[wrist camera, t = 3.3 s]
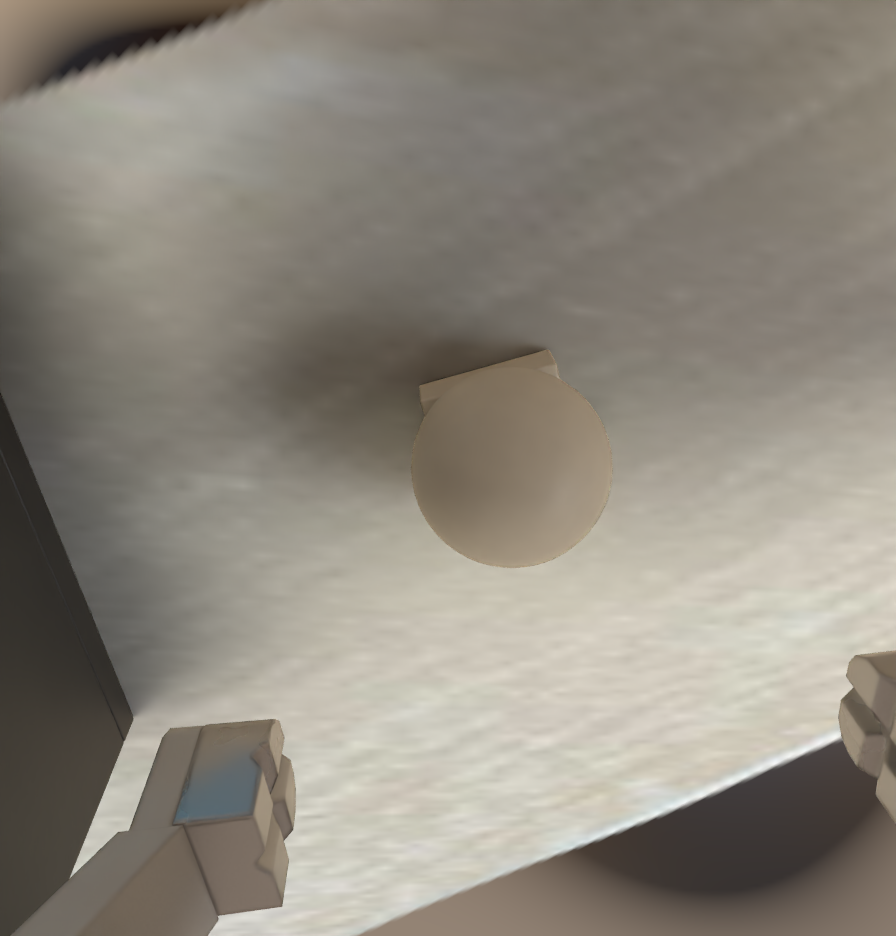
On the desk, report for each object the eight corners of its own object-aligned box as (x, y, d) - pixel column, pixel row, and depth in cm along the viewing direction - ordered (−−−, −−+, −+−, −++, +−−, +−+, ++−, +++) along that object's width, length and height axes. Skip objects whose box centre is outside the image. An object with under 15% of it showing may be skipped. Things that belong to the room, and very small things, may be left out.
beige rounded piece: (424, 327, 17) (432, 403, 13) (608, 353, 18) (665, 434, 14) (398, 491, 19) (398, 599, 15) (564, 510, 20) (603, 619, 16)
